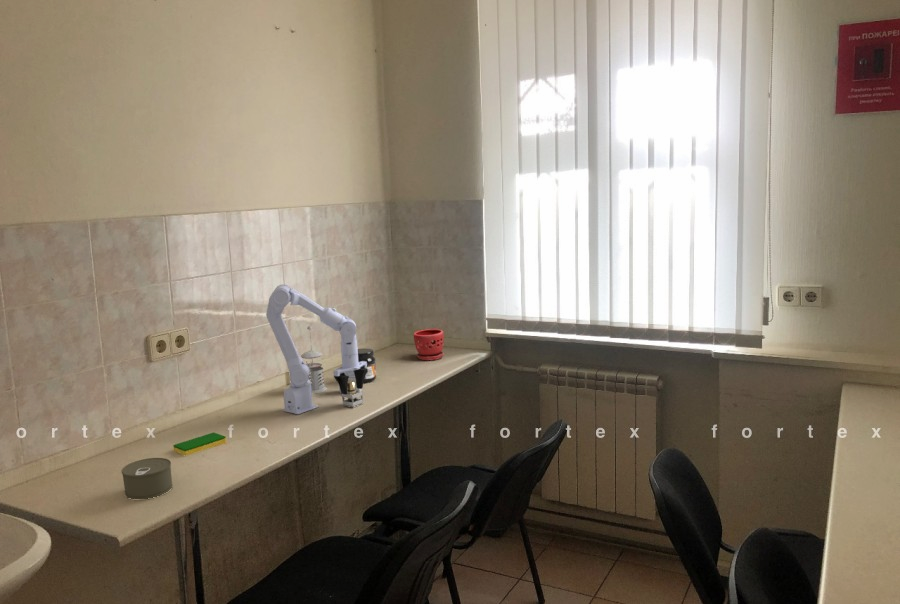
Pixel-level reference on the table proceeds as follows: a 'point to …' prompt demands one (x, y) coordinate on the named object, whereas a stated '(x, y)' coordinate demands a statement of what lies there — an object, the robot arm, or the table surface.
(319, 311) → the robot arm
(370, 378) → the supplement container
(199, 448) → the dish sponge
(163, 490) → the can
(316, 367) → the french press
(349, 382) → the gold domed cylinder
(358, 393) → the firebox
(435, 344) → the plant pot
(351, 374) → the medicine box
